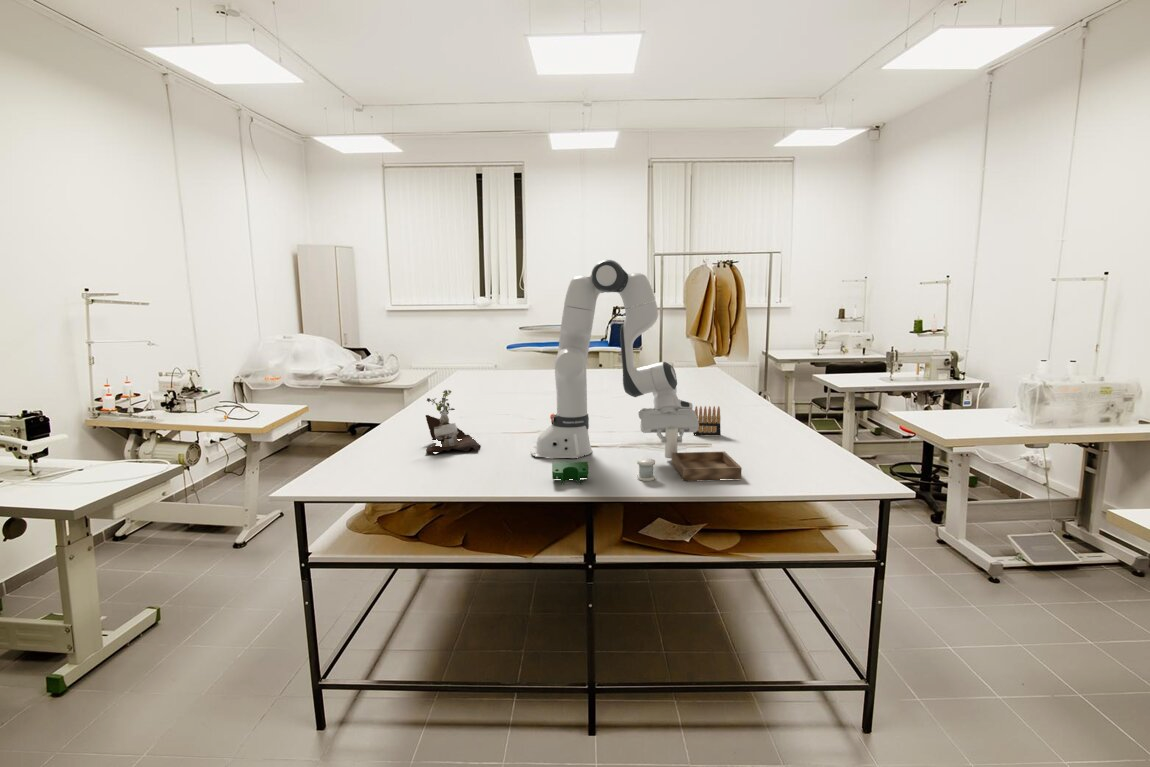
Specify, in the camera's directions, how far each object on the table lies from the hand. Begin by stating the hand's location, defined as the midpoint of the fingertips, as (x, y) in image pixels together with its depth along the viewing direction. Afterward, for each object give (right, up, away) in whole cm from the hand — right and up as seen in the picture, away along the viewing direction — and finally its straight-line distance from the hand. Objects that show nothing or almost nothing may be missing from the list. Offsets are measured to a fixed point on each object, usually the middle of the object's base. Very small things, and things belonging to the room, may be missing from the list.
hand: (671, 442), depth 202 cm
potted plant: (-80, -5, +24) cm, 84 cm away
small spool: (-11, -10, -16) cm, 22 cm away
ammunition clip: (+20, -1, +36) cm, 41 cm away
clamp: (-35, -11, -19) cm, 41 cm away
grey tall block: (0, -5, +2) cm, 5 cm away
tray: (+9, -9, -11) cm, 16 cm away
